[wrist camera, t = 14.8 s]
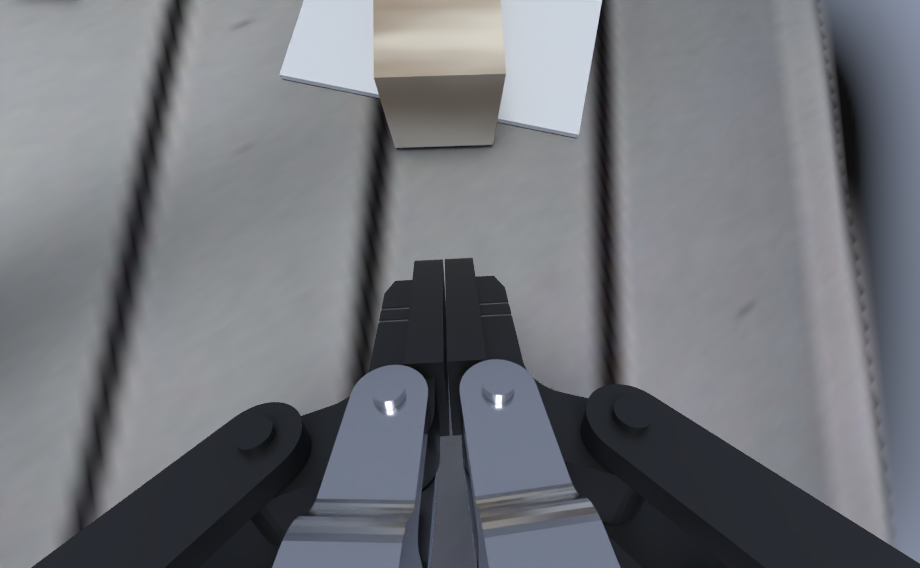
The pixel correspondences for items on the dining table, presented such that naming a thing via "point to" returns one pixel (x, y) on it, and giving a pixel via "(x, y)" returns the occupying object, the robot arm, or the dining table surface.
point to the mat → (525, 45)
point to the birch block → (439, 70)
